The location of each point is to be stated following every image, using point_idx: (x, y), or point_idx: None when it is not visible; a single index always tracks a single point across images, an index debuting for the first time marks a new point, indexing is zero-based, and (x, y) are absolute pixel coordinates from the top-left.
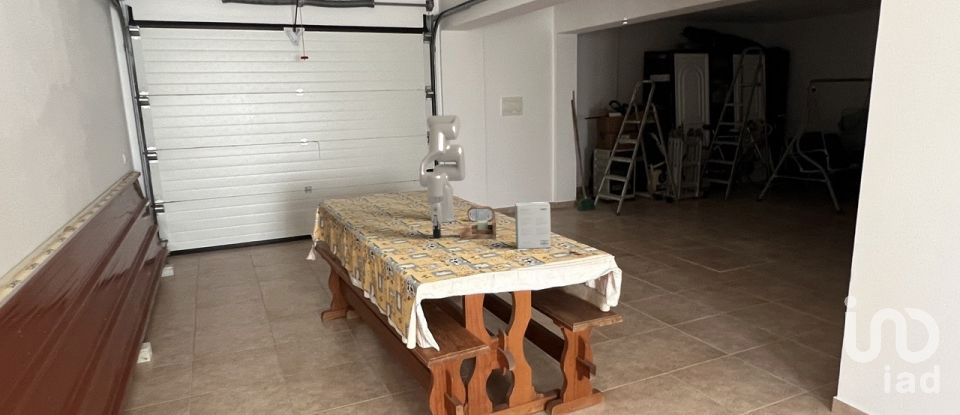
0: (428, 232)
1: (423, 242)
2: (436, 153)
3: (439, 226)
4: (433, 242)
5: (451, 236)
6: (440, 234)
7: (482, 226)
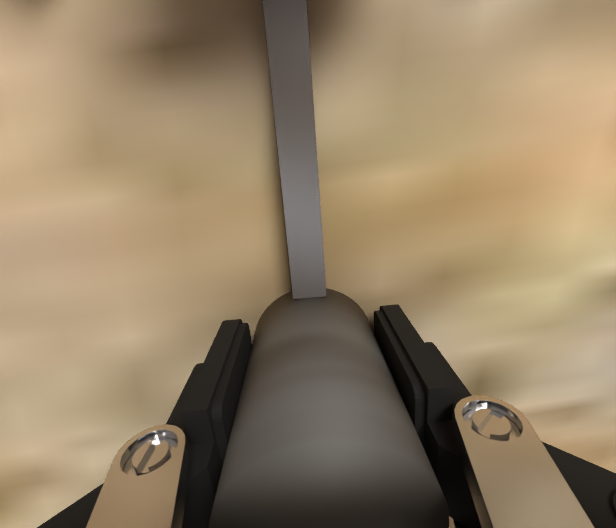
0: (43, 482)
1: (564, 447)
2: None
3: (407, 447)
4: (600, 340)
5: (313, 110)
6: (344, 314)
7: None
